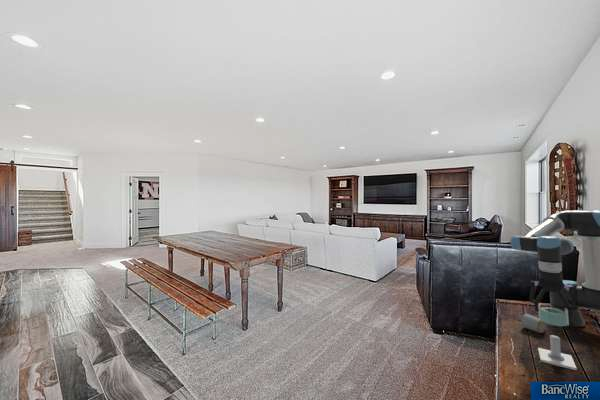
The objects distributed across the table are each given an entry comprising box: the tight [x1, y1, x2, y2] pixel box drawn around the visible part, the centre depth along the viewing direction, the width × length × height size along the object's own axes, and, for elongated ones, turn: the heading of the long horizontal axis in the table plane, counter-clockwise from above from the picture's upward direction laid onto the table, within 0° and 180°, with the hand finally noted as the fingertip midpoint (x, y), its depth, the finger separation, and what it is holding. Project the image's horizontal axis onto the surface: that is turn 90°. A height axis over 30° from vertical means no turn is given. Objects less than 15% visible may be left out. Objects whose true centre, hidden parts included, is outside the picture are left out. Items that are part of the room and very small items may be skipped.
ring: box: [540, 306, 568, 327], centre depth 114 cm, size 8×8×5 cm
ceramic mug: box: [520, 313, 547, 334], centre depth 140 cm, size 11×8×8 cm
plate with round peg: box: [537, 334, 578, 372], centre depth 114 cm, size 11×11×10 cm
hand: (553, 321), depth 114 cm, fingers closed on ring, 8 cm apart
